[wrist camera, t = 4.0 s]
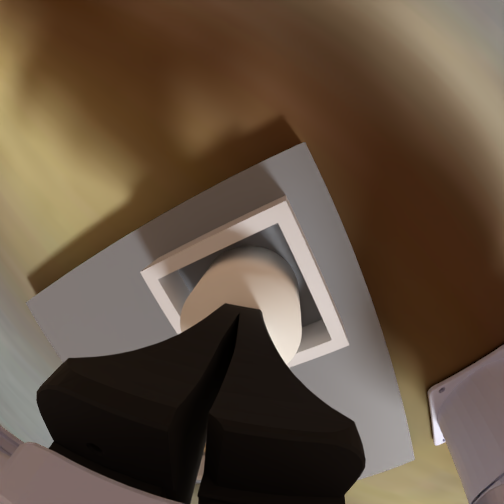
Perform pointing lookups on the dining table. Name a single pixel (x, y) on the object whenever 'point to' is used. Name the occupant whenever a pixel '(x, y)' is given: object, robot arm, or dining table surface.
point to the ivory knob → (251, 294)
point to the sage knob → (195, 494)
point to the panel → (200, 259)
